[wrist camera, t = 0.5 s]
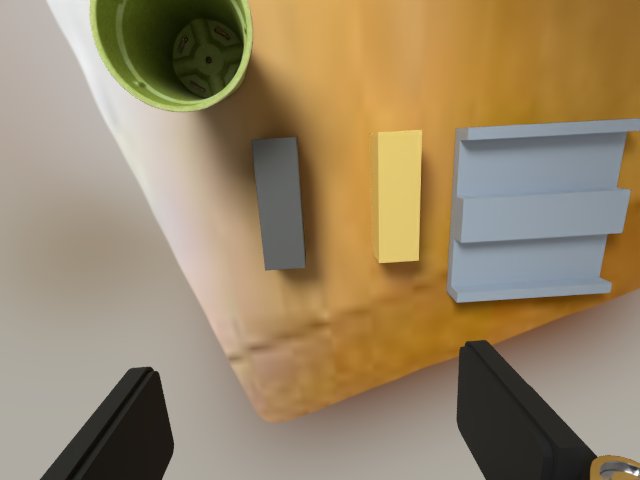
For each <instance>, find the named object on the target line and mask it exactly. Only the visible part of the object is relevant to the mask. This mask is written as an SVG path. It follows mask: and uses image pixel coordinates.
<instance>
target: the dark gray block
mask: <svg viewBox="0 0 640 480" xmlns="http://www.w3.org/2000/svg"><path fill="white" fill-rule="evenodd" d="M251 142H252V151H253V161H254V170H255V179H256V189H257V198H258V207H259V216H260V226H261V235H262V244H263V254H264V263H265V270H280V269H296V268H305V256H306V253H305V239H304V225H303V211H302V197H301V183H300V169H299V155H298V141H297V137H289V138H271V139H254V140H251Z"/></svg>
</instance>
